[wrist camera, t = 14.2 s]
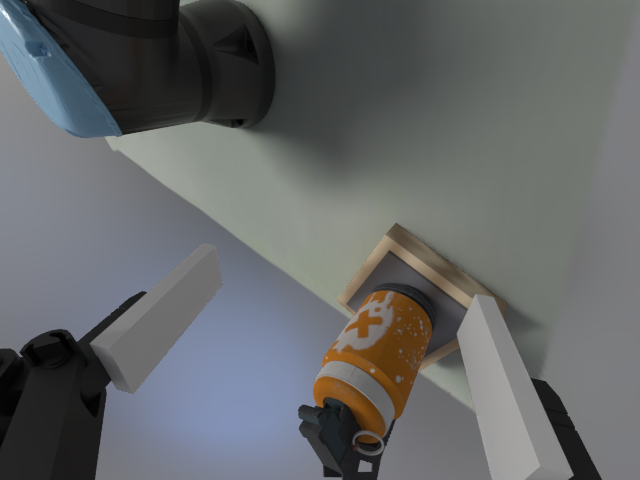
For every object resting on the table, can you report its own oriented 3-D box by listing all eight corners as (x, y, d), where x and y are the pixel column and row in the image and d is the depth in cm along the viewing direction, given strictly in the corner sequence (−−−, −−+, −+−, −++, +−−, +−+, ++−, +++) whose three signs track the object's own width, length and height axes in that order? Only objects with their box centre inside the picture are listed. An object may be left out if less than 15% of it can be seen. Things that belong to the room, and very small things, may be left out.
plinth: (346, 288, 47) (334, 302, 44) (395, 223, 36) (383, 236, 33) (426, 353, 43) (418, 373, 40) (506, 303, 32) (504, 325, 30)
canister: (422, 276, 33) (337, 435, 18) (453, 349, 35) (399, 541, 21) (360, 282, 39) (261, 406, 24) (391, 345, 41) (316, 491, 27)
